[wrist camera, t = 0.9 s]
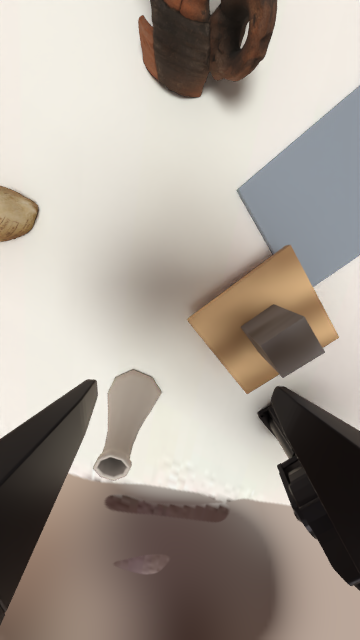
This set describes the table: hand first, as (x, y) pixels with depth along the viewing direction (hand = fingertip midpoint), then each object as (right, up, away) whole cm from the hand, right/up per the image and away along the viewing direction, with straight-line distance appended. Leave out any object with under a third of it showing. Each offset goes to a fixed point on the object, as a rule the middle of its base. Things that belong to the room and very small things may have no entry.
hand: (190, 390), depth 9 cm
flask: (-7, -7, +17) cm, 19 cm away
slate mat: (+15, +16, +10) cm, 24 cm away
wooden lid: (+9, +3, +11) cm, 14 cm away
